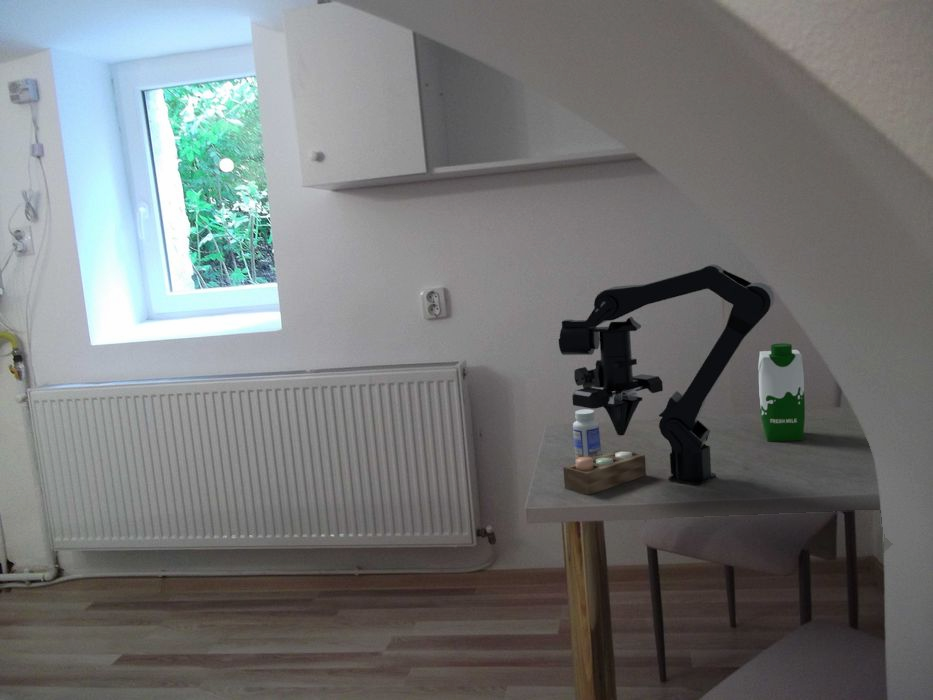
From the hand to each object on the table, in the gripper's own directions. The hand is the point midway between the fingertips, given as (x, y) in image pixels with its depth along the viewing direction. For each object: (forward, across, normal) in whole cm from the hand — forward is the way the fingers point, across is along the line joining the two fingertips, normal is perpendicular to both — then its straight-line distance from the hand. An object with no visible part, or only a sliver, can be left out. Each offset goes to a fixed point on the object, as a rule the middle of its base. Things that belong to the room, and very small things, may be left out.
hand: (620, 435), depth 160 cm
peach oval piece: (+5, +10, 0) cm, 11 cm away
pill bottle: (+8, -5, -15) cm, 18 cm away
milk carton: (+8, -40, +7) cm, 42 cm away
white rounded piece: (+6, 0, 0) cm, 6 cm away
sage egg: (+6, +5, 0) cm, 8 cm away
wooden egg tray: (+8, +5, 0) cm, 9 cm away
